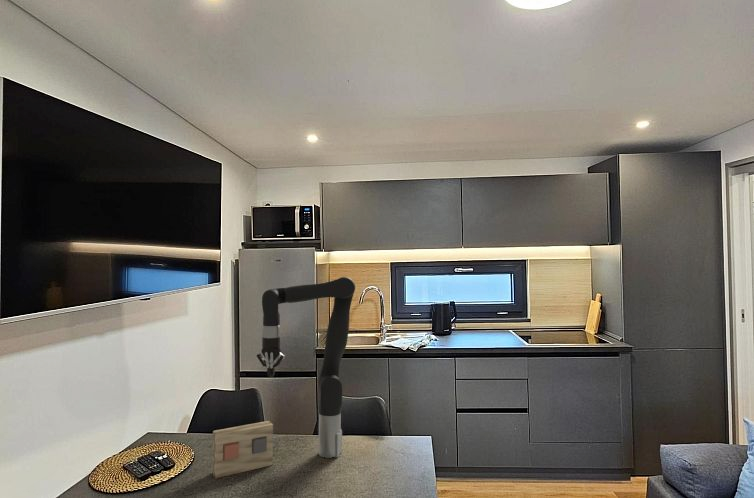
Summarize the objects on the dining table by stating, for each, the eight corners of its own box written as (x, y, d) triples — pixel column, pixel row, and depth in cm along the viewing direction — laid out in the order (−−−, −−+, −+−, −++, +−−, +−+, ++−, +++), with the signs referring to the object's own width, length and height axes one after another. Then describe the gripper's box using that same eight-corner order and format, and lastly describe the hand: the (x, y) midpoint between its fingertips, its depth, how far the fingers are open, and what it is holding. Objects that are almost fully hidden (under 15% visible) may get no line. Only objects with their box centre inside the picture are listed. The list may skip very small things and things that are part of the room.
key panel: (212, 473, 177) (213, 430, 177) (268, 460, 188) (268, 420, 189) (215, 478, 173) (216, 435, 173) (272, 464, 184) (273, 424, 185)
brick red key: (223, 457, 176) (223, 444, 176) (236, 454, 178) (236, 441, 179) (224, 460, 173) (225, 446, 173) (238, 457, 176) (238, 444, 176)
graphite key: (251, 451, 182) (251, 438, 182) (264, 448, 184) (264, 435, 184) (253, 453, 179) (254, 440, 179) (266, 451, 182) (266, 438, 182)
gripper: (289, 335, 200) (288, 375, 199) (261, 333, 203) (260, 373, 202) (281, 337, 193) (281, 379, 192) (252, 336, 196) (252, 377, 195)
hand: (270, 376), depth 197 cm, fingers closed
